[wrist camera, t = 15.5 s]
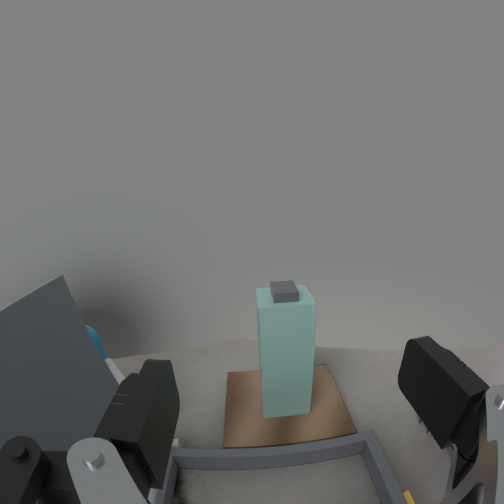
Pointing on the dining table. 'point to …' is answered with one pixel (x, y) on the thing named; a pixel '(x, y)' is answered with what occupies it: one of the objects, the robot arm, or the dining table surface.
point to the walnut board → (287, 427)
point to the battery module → (286, 348)
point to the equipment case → (104, 388)
